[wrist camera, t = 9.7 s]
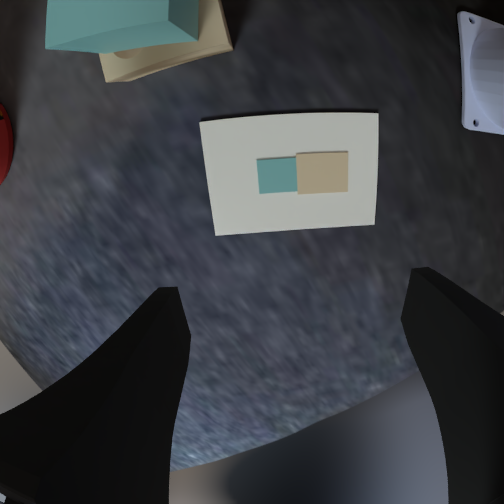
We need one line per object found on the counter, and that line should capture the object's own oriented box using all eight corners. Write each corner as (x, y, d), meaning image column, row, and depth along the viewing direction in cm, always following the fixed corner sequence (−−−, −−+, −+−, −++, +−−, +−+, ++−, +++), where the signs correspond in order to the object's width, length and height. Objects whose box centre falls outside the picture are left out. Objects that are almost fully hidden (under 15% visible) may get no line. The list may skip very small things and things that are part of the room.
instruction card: (377, 113, 16) (379, 113, 16) (373, 223, 19) (374, 225, 19) (200, 121, 17) (198, 122, 16) (216, 234, 20) (215, 236, 20)
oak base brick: (211, -38, 12) (201, -61, 9) (233, 50, 15) (228, 42, 12) (112, -4, 12) (85, -17, 9) (132, 80, 15) (106, 82, 12)
